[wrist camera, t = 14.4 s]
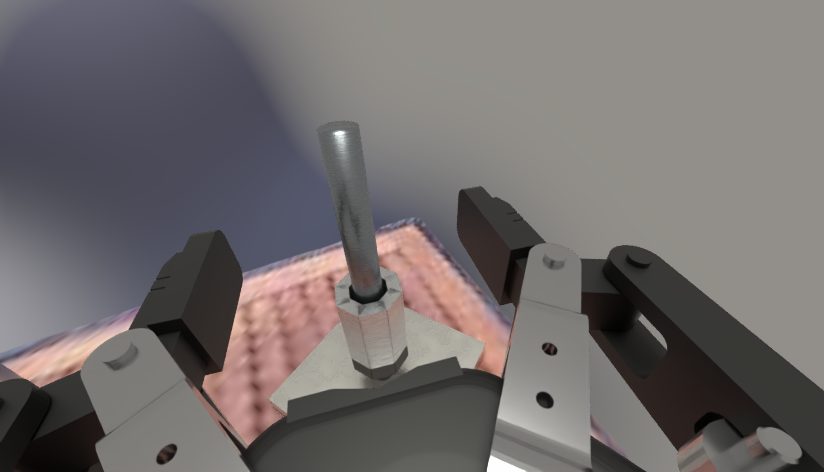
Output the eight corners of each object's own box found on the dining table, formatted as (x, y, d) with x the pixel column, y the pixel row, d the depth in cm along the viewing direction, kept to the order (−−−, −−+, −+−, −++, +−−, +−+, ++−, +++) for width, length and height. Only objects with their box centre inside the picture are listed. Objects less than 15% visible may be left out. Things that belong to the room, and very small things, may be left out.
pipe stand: (273, 407, 36) (106, 156, 18) (369, 299, 48) (329, 84, 30) (410, 512, 28) (363, 258, 10) (484, 352, 40) (524, 104, 22)
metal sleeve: (338, 350, 33) (321, 298, 28) (372, 311, 37) (362, 259, 32) (384, 377, 30) (374, 325, 25) (415, 332, 34) (412, 279, 29)
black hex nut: (342, 361, 34) (338, 350, 33) (374, 322, 38) (372, 311, 37) (386, 388, 31) (384, 377, 30) (416, 343, 35) (415, 332, 34)
